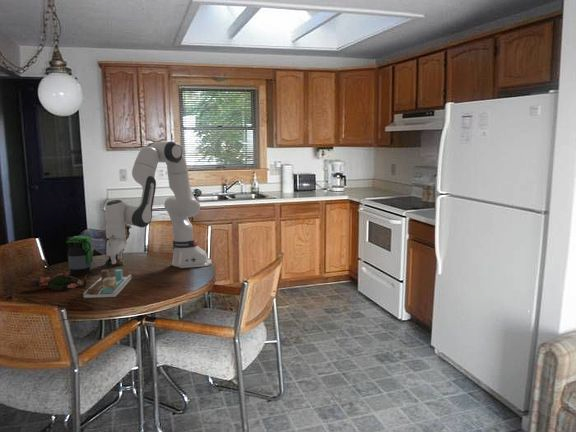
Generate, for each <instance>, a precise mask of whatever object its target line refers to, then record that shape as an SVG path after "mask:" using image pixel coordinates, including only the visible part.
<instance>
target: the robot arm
mask: <svg viewBox="0 0 576 432" xmlns="http://www.w3.org/2000/svg"><path fill="white" fill-rule="evenodd" d="M159 163H165V165H166V168H167V169H166V170H167V180H168V186H169V189H170V191H172V193H173V194H174V195H173V196H169V197H167V198H166V199H165V201H164V209H165V211H166V212H167V214H168V216H169V218H170V221H171V226H172V235H173V240H172V249H173V254H172V255H173V256H172V262H171V265H172V266H174V267H177V268H179V269H185V268H196V267H197V268H200V267H209V266H210V265H211V264H212V259H211V258H208V254H207V251H206V250H205V249H203V248H201V247H200V246H198V240H197V239H195V238H194V227H193V225H192V223H191V221H190V218H194V217H196V216H198V215H199V213H200V210H201V204H200V202H199V201H198V200H197V199H196V197H195V195H194V193H193V191H192V187H191V185H190V178H189V170H188V165H187V164H188V163H187V161H186V158H185V155H184V154H183V149H182V146H181V145H180V144H179V143H178V142H176V141H165V140H164V141H163V140H161V141H158V142H155V141H154V142H150V143H149V144H147V145H146V146H143V147H142V148H141V149H140V150H139V152H138V154H137V156H136V159H135V160H134V163H133V166H132V170H131V175H132V178H133V179H134V181H135V182H136V183H137V184H139V185H140V186H141V188H142V194H141V198H140V204H139V205H138V206H137V205H130V204H128V203H125V202H124V201H123V200H120V199H113V200H109V201H108V202H107V203H106V204H105V207H104V220H105V223H106V224H105V230H106V232H105V234H106V238H109V240H108V241H106V244H105V245H106V246H105V252H106V253H105V255H106V256H107V257H108V256H110V258H111V261H112V264H115V263H116V259H115V257H116V254H118V256H117V259H122V257H123V255H122V252H123V253H124V251H123V249H124V250H125V248H126V246H127V244H126V242H127V241H126V234H127V230H125V224H128V225H130V226H135V227H138V228H146V227H147V226H149V224H150V223H151V222H152V220H153V207H154V201H155V195H156V188H157V187H156V186H157V181H156V179H155V175H156V171H157V169H158V164H159ZM106 238H105V239H106Z"/></svg>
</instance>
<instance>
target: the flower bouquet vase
mask: <svg viewBox="0 0 576 432" xmlns="http://www.w3.org/2000/svg"><path fill="white" fill-rule="evenodd" d="M130 229H132V225H128V224H125V230H127V234H126V245H127V244H128V242H127V240H128V239H129V237H130ZM104 232H105V234H104V239H105V240H107V241H108V240H109V238H106V229H104ZM107 241H106V242H107ZM124 251H125V248H124V249H123V252H122V259H117V256H118V254H116V257H115V259H116V263H115V264H112V261H111V258H110V256H107V257H108V259H107V260H106V261H105V263H104V264H105V266H106V268H108V267H109V268H113V267H114V268H115V267H121V266H125V262H124V260H123V259H124V257H123V256H124V255H123V253H124Z"/></svg>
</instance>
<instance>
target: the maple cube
mask: <svg viewBox="0 0 576 432" xmlns="http://www.w3.org/2000/svg"><path fill="white" fill-rule="evenodd" d="M115 287H116V277H115V276H113V277H111V276H109V278H105V279H104V280H103V288H112V290H114V289H115Z"/></svg>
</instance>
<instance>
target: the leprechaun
mask: <svg viewBox="0 0 576 432" xmlns="http://www.w3.org/2000/svg"><path fill="white" fill-rule="evenodd" d="M87 274H88V273H87ZM87 274H84V278H83V279H84V280H81V279H78V278H77V277H75V276H74V275H73V274H71V273H70V272H60V273H57V274H56V275H53V276H52V277H51V276H47V277H44V276H39V278H32V279H29V281H28V282H29V283H28V284H29V287H30V288H38V287H39V288H41V289H42V290H43V289H44V288H46V287H47V288H49V289H51V290H55V291H58V292H59V291H60V290H61V291H66V290H69V289H75V288H76V287H82V286H83V287H87V283H88V282H87V280H88V275H87Z"/></svg>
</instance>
